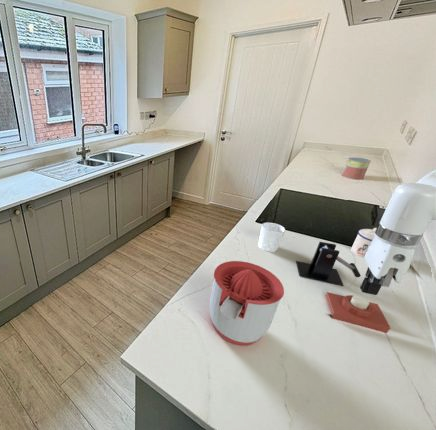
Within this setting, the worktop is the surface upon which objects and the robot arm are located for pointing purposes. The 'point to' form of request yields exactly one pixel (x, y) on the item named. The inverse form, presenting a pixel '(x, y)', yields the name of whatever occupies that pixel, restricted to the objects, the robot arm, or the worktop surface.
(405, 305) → the worktop surface
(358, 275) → the lever
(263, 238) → the white cup
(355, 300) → the button
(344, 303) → the button housing
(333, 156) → the worktop surface
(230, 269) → the citrus juicer
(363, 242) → the teacup with lid
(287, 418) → the worktop surface
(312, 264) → the bracket
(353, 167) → the canned food
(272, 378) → the worktop surface
